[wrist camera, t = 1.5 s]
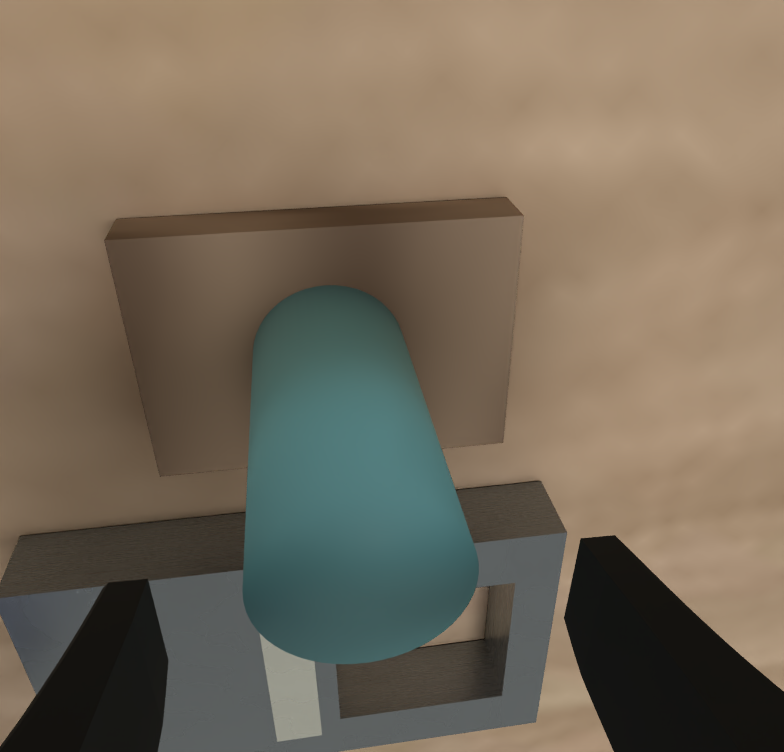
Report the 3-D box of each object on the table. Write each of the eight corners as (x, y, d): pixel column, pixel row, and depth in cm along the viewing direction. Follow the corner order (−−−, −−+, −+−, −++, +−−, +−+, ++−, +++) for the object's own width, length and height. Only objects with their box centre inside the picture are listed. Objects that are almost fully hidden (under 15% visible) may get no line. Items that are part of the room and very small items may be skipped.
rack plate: (93, 724, 27) (77, 795, 25) (19, 536, 22) (-9, 604, 20) (516, 666, 29) (537, 727, 27) (540, 481, 24) (569, 536, 22)
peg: (261, 423, 19) (256, 677, 13) (244, 290, 17) (227, 510, 11) (404, 410, 20) (472, 648, 13) (404, 280, 18) (485, 483, 11)
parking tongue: (166, 444, 21) (159, 476, 20) (116, 219, 17) (104, 240, 16) (489, 414, 22) (503, 442, 21) (506, 197, 19) (523, 215, 17)
